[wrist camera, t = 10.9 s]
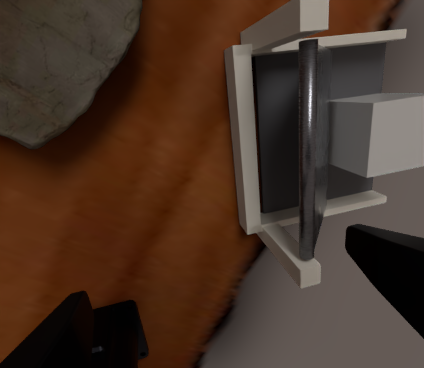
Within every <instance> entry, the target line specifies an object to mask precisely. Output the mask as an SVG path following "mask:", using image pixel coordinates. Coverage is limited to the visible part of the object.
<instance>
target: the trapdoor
mask: <svg viewBox="0 0 424 368" xmlns="http://www.w3.org/2000/svg"><path fill="white" fill-rule="evenodd" d="M331 68H332V51H331V50H329V49H327V48H325V47H323V46H321V45H319V44H318V39H309V40H303V41H300V42H299V256H300V258H302V259H304V260H311V259H313V258H314V249H315V245H316V242H317V238H318V235H319V230H320V227H321V223H322V220H323V216H324V213H325V209H326V205H327V180H328V152H329V124H330V96H331Z"/></svg>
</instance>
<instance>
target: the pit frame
mask: <svg viewBox="0 0 424 368" xmlns="http://www.w3.org/2000/svg"><path fill="white" fill-rule="evenodd" d="M328 14H329V0H291V1H290V2H288V3H287V4H285V5H283V6H282V7H280V8H279V9H277V10H276V11H274V12H272V13H271V14H269V15H268V16H266V17H264V18H263V19H261V20H260V21H258V22H257V23H255V24H253V25H252V26H250V27H249V28H247V29H246V30H244V31H242V32H241V33H240V35H241V45H235V46H231V47H229V48H227V49H226V50H224V57H225V68H226V79H227V90H228V101H229V112H230V123H231V135H232V146H233V157H234V168H235V179H236V190H237V201H238V212H239V224H240V225H241V226H242V228H243V229H244V231H245V232H246V233H247V235H249V234H253V233H256V234H257V235H258V236H259V237H260V239H261V240H262V241H263V242H264V244H265V245H266V246H267V247H268V249H269V250H270V251H271V252H272V254H273V255H274V256H275V257H276V258H277V260H278V261H279V262H280V263H281V265H282V266H283V267H284V269H285V270H286V271H287V272H288V274H289V275H290V276H291V277H292V278H293V280H294V281H295V282H296V283H297V285H298V286H299V287H300V288H305V287H308V286H312V285H315V284H319V283H320V279H321V265H320V264H319V263H318V262H317V261H316V260H315V259H314V258H313V259H311V260H304V259H302V258H300V256H299V243H298V242H297V241H296V240H295V239H294V238H293V237H292V236H291V235H289V233H288V232H286V231H285V230H284V229H283V228H282V227H283V226H288V225H292V224H296V223H299V42H300V41H303V40H309V39H318V44H319V45H321V46H323V47H325V48H327V49H329V50H331V51H332V68H331V96H330V100H335V99H342V98H350V97H357V96H364V95H371V94H378V93H381V90H382V80H383V70H384V60H385V50H386V42H390V41H395V40H399V39H404V38H406V31H407V30H406V29H400V30H390V31H379V32H369V33H359V34H348V35H338V36H328V37H317V38H307V39H301V38H304V37H307V36H310V35H313V34H315V33H318V32H321V31H324V30H327V29H328ZM251 57H254V68H255V86H256V104H257V122H258V140H259V158H260V176H261V194H262V212H263V213H260V199H259V182H258V165H257V148H256V131H255V114H254V97H253V80H252V63H251ZM372 183H373V177H369V178H366V177H363V176H360V175H358V174H355V173H352V172H350V171H347V170H345V169H342V168H339V167H337V166H334V165H331V164H329V163H328V180H327V205H326V209H325V213H324V216H323V217H326V216H330V215H335V214H339V213H343V212H348V211H352V210H356V209H361V208H365V207H369V206H373V205H378V204H382V203H386V198H387V197H386V196H384V195H382V194H380V193H377V192H375V191H373V190H372Z"/></svg>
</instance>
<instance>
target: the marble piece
mask: <svg viewBox="0 0 424 368" xmlns="http://www.w3.org/2000/svg"><path fill="white" fill-rule="evenodd" d="M141 11H142V0H0V135H1V136H5V137H8V138H10V139H12V140H15V141H16V142H18V143H19V144H21V145H23V146H25V147H27V148H29V149H37V148H40V147H42V146H44V145H45V144H46V143H47V142H49V141H50V140H51V139H52V138H55V137H57V136H59V135H60V134H61V133H63V132H64V131H66V130H67V129H68V128H69V127H70V126H71V125H72V124H73V123H74V122H75V121H76V119H77V117H79V116H80V115H82V114H84V113H85V112H86V111H87V110H88V108H89V107H90V106H91V104H92V103H93V100H94V97H95V94H96V92H97V91H98V89H99V88H100V87H101V85H102V84H103V83H104V82H105V81H106V80H107V78H108V77H109V76H110V74H111V72H112V71H113V70H114V69H115V67H116V66H117V65H118V64H119V63H121V61H122V60H123V59H124V57H125V56H126V54H127V51H128V49H129V47H130V45H131V43H132V41H133V39H134V38H135V36H136V34H137V32H138V30H139V26H140V14H141Z"/></svg>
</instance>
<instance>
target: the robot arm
mask: <svg viewBox="0 0 424 368" xmlns="http://www.w3.org/2000/svg"><path fill="white" fill-rule="evenodd" d="M345 248H346V250H347V253H348V254H349V255H350V257H351V258H352V259H353V260H354V262H356V264H357V265H358V267H359V268H360V269H361V270H362V271H363V273H364V274H365V275H366V277H367V278H368V279H369V281H370V282H371V283H372V284H373V285H374V286H375V288H376V289H377V290H378V291H379V292H380V293H381V294H382V295H383V296H384V297H385V298H386V300H387V301H388V302H389V303H390V304H391V305H392V306H393V307H394V308H395V309H396V310H397V311H398V312H399V313H400V314H401V315H402V316H403V317H404V318H405V320H406V321H407V322H408V323H409V324H410V325H411V326H412V327H413V328H414V329H415V330H416V331H417V332H418V333H419V334H420V335H421V336H422V337H423V339H424V238H420V237H416V236H411V235H407V234H402V233H398V232H393V231H389V230H384V229H379V228H375V227H371V226H366V225H362V224H355V225H351V226H348V227H347V229H346V239H345ZM128 306H132V307H128ZM147 356H148V346H147V342H146V338H145V335H144V331H143V327H142V324H141V320H140V316H139V313H138V309H137V305H136V302H135V301H133V300H128V301H124V302H120V303H116V304H113V305H109V306H105V307H101V308H97V309H92V306H91V303H90V300H89V297H88V294H87V293H86V291H80V292H75V293H72V294H70V295H69V296H68V297H67V298H66V299H65V300H64V301H63V302H62V303H61V304H60V305H59V306H58V307H57V308H56V309H55V310H54V311H53V312H52V313H51V314H50V315H49V316H48V317H46V318H45V319H44V320H43V321H42V322H41V323H40V324H39V325H38V326H37V327H36V328H35V329H34V330H33V331H32V332H31V333H30V334H29V335H28V336H27V337H26V338H25V339H24V340H23V341H22V342H21V343H20V344H19V345H18V346H17V347H16V348H15V349H14V350H13V351H12V352H11V353H10V354H9V355H8V356H7V357H6V358H5V359H4V360H3V361H2V362H1V363H0V368H138V360H139V359H142V358H145V357H147Z"/></svg>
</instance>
